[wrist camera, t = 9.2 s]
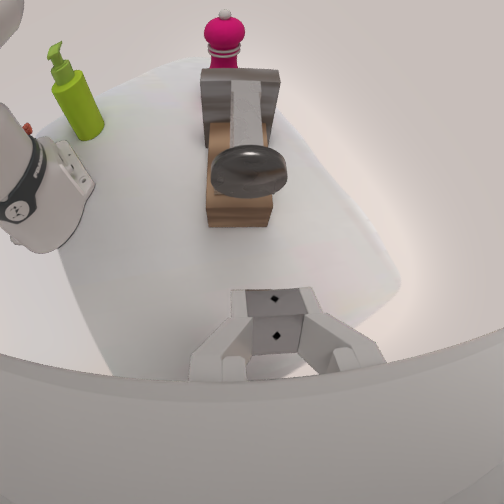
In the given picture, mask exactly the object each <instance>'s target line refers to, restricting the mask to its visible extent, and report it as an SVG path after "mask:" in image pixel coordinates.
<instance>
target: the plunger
mask: <svg viewBox="0 0 504 504" xmlns="http://www.w3.org/2000/svg"><path fill="white" fill-rule="evenodd" d="M260 99H261V83H260V81H246V80H231V113H230V148H229V149H226V150H224V151H223V152H221V153H219V154H218V155H217V156H216V157H215V158H214V160H213V161H212V164H211V184H212V186H213V187H214V194H224V195H227V196H230V197H234V198H243V199H251V198H260V197H264V196H268V195H271V194H274V193H275V192H277V191H279V190H280V189H281V188H282V187H283V186H284V185H285V184H286V182H287V169H286V162H285V159H284V158H283V156H282V155H281V154H280V153H278V152H277V151H275V150H273V149H271V148H268V147H265V146H264V145H263V133H262V121H261V109H260Z"/></svg>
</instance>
